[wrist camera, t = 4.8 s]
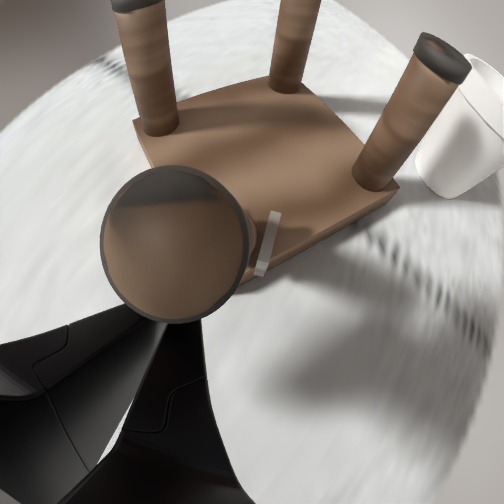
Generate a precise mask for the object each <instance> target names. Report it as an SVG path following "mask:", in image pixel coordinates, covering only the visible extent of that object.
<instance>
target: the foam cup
mask: <svg viewBox="0 0 504 504" xmlns="http://www.w3.org/2000/svg"><path fill="white" fill-rule="evenodd" d="M463 56H464V57H465V58H466V59H467V60H468V61H469V63H470V64H471V66H472V69H471V71H470V73H469V74H468V76H467V77H466V79H465V80H464V82H463V83H462V84H461V85H459V86H458V88H457V89H456V91H455V92H454V94H453V95H452V97H451V98H450V100H449V101H448V102H447V104H446V105H445V107H444V108H443V110H442V111H441V113H440V114H439V115H438V117H437V118H436V120H435V121H434V123H433V124H432V125H431V127H430V128H429V130H428V132H427V134H426V136H425V138H424V140H423V142H422V144H421V146H420V148H419V150H418V153H417V154H416V159H415V165H416V168H417V170H418V173H419V175H420V177H421V178H422V179H423V181H424V182H425V184H426V185H427V186H428V187H429V188H430V189H431V190H432V191H434V192H435V193H436V194H437V195H439V196H441V197H444V198H446V199H452V198H456V197H457V196H460V195H461V194H463V193H464V192H466V191H468V190H469V189H471V188H472V187H474V186H475V185H477V184H478V183H480V182H482V181H483V180H485V179H486V178H488V177H489V176H491V175H492V174H494V173H495V172H497V171H498V170H500V169H501V168H503V167H504V77H503V76H502V75H501V74H500V73H498V72H497V71H496V70H495V69H494V68H492V67H491V66H490V65H488V64H487V63H485V62H484V61H483V60H481V59H479V58H477V57H475V56H473V55H471V54H464V55H463Z"/></svg>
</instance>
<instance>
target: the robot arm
mask: <svg viewBox="0 0 504 504" xmlns="http://www.w3.org/2000/svg"><path fill="white" fill-rule="evenodd" d="M133 399H134V400H133ZM132 400H133V402H132ZM131 402H132V404H131ZM130 404H131V407H130V409H129V412H128V414H127V417H126V419H125V422H124V424H123V427H122V429H121V432H120V434H119V437H118V439H117V441H116V443H115V445H114V446H113V448H112V450H111V451H110V452H109V453H108V454H107V455H106V456H105V457H104V458H103V459H102V460H101V461H100V462H99V463H98V461H99V459H100V457H101V456H102V454H103V452H104V450H105V448H106V446H107V445H108V443H109V441H110V439H111V437H112V436H113V434H114V432H115V430H116V428H117V427H118V425H119V423H120V421H121V420H122V418H123V416H124V414H125V413H126V411H127V409H128V407H129V406H130ZM97 463H98V464H97ZM0 504H256V503H255V502H254V501H253V500H252V499H251V498H250V497H249V496H248V494H247V493H246V492H245V491H244V489H243V488H242V486H241V484H240V483H239V481H238V479H237V477H236V475H235V473H234V470H233V468H232V466H231V463H230V460H229V458H228V455H227V452H226V449H225V447H224V444H223V441H222V438H221V435H220V432H219V430H218V427H217V424H216V420H215V417H214V413H213V409H212V405H211V400H210V394H209V387H208V380H207V372H206V363H205V354H204V344H203V334H202V323H201V319H199V320H196V321H193V322H189V323H182V324H169V323H162V322H158V321H154V320H151V319H149V318H146V317H144V316H142V315H140V314H139V313H137V312H135V311H134V310H133V309H131V308H130V307H129V306H127V305H126V304H125V303H124V304H122V305H119V306H116V307H114V308H111V309H108V310H106V311H103V312H100V313H97V314H95V315H92V316H89V317H87V318H84V319H81V320H78V321H76V322H73V323H70V324H69V325H65V326H62V327H59V328H57V329H54V330H51V331H48V332H45V333H42V334H38V335H35V336H31V337H28V338H24V339H20V340H17V341H13V342H9V343H5V344H1V345H0Z"/></svg>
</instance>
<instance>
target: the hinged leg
mask: <svg viewBox="0 0 504 504" xmlns="http://www.w3.org/2000/svg"><path fill="white" fill-rule="evenodd" d="M257 239H258V231H257V227H256V224H255V222H254V220H253V219H252V218H251V217H250V215H248V214H247V213H246V212H245V211H244V210H243V209H242V207H241V205H240V204H239V202H238V201H237V200H236V199H235V197H234V196H233V195H232V194H231V193H230V192H229V191H228V190H227V189H226V188H225V187H224V186H223V185H222V184H221V183H220V182H218V181H217V180H216V179H215V178H213V177H212V176H210V175H208V174H207V173H205V172H202V171H200V170H198V169H195V168H191V167H188V166H181V165H165V166H159V167H155V168H152V169H149V170H146V171H144V172H142V173H140V174H138V175H137V176H135V177H133V178H132V179H131V180H129V181H128V182H127V183H126V184H125V185H124V186H123V187H122V188H121V189H120V190H119V191H118V192H117V194H116V195H115V196H114V198H113V199H112V201H111V203H110V204H109V206H108V208H107V211H106V213H105V216H104V219H103V222H102V226H101V233H100V255H101V260H102V265H103V268H104V271H105V274H106V276H107V279H108V281H109V283H110V285H111V286H112V288H113V289H114V291H115V292H116V294H117V295H118V296H119V297H120V299H121V300H122V301H123V302H124V303H125V304H126V305H127V306H129V307H130V308H131V309H133V310H134V311H135V312H137V313H139V314H140V315H142V316H144V317H146V318H149V319H151V320H154V321H158V322H162V323H169V324H182V323H189V322H193V321H196V320H199V319H202V318H204V317H206V316H208V315H210V314H211V313H213V312H215V311H216V310H217V309H219V308H220V307H221V306H222V305H223V304H225V302H226V301H227V300H228V299H229V298H230V297H231V296H232V294H233V293H234V291H235V290H236V288H237V287H238V285H239V283H240V281H241V279H242V277H243V274H244V272H245V270H246V268H247V265H248V262H249V258H250V254H251V253H252V251H253V249H254V248H255V246H256V243H257Z"/></svg>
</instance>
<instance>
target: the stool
mask: <svg viewBox="0 0 504 504" xmlns="http://www.w3.org/2000/svg"><path fill="white" fill-rule="evenodd" d="M320 3H321V0H281V2H280V9H279V15H278V21H277V28H276V34H275V41H274V47H273V54H272V60H271V67H270V73H269V76H265V77H261V78H256V79H252V80H248V81H244V82H241V83H237V84H233V85H230V86H226V87H223V88H219V89H216V90H213V91H209V92H206V93H203V94H200V95H197V96H194V97H191V98H188V99H185V100H182V101H180V102H176V95H175V88H174V81H173V73H172V65H171V57H170V48H169V40H168V30H167V20H166V9H165V0H111V4H112V9H113V11H114V12H115V15H116V21H117V26H118V31H119V35H120V40H121V44H122V49H123V53H124V58H125V62H126V66H127V70H128V74H129V78H130V82H131V86H132V90H133V94H134V97H135V101H136V105H137V108H138V112H139V116H140V117H139V118H137V119H134V120H132V121H133V124H134V128H135V131H136V134H137V137H138V140H139V142H140V144H141V146H142V148H143V151H144V153H145V155H146V157H147V159H148V161H149V163H150V165H151V167H152V168H155V167H159V166H165V165H181V166H188V167H191V168H195V169H198V170H200V171H202V172H205V173H207V174H208V175H210V176H212V177H213V178H215V179H216V180H217V181H218V182H220V183H221V184H222V185H223V186H224V187H225V188H226V189H227V190H228V191H229V192H230V193H231V194H232V195H233V196H234V197H235V199H236V200H237V201H238V202H239V204H240V205H241V207H242V209H243V210H244V211H245V212H246V213H247V214H248V215H250V217H251V218H252V219H253V220H254V222H255V224H256V227H257V231H258V239H257V243H256V246H255V248H254V249H253V251H252V253H251V254H250V258H249V262H248V265H247V268H246V270H245V272H244V274H243V277H242V279H241V281H240V283H239V285H238V286H240V285H242V284H244V283H245V282H247V281H249V280H251V279H253V278H255V277H257V276H261V277H264V274H265V272H266V271H268V270H269V269H271V268H273V267H275V266H277V265H278V264H280V263H282V262H284V261H286V260H287V259H289V258H291V257H293V256H295V255H297V254H298V253H300V252H302V251H304V250H305V249H307V248H309V247H311V246H313V245H314V244H316V243H318V242H320V241H321V240H323V239H325V238H327V237H329V236H330V235H332V234H334V233H336V232H337V231H339V230H341V229H343V228H344V227H346V226H348V225H350V224H351V223H353V222H355V221H357V220H358V219H360V218H362V217H363V216H365V215H367V214H369V213H370V212H372V211H374V210H376V209H377V208H379V207H381V206H382V205H384V204H386V203H387V202H388V201H389V200H390V199H391V198H392V196H393V195H394V194H395V193H396V192H397V191H398V189H399V188H400V187H399V185H398V184H397V183H396V182H395V180H394V179H393V176H394V175H395V174H396V173H397V171H398V170H399V169H400V167H401V166H402V165H403V163H404V162H405V161H406V159H407V158H408V157H409V155H410V154H411V153H412V151H413V150H414V149H415V147H416V146H417V145H418V143H419V142H420V141H421V139H422V138H423V137H424V135H425V134H426V132H427V131H428V130H429V128H430V127H431V125H432V124H433V123H434V121H435V120H436V118H437V117H438V115H439V114H440V113H441V111H442V110H443V108H444V107H445V105H446V104H447V102H448V101H449V100H450V98H451V97H452V95H453V94H454V92H455V91H456V89H457V88H458V86H459V85H461V84H462V83H463V82H464V80H465V79H466V77H467V76H468V74H469V73H470V71H471V69H472V66H471V64H470V63H469V61H468V60H467V59H466V58H465V57H464V56H463V55H462V54H461V53H460V52H458V51H457V50H456V49H455V48H454V47H452V46H450V45H449V44H448V43H446V42H445V41H443V40H441V39H440V38H438V37H435V36H434V35H431V34H429V33H425V32H422V33H421V34H420V37H419V39H418V41H417V43H416V45H415V47H414V49H413V51H414V53H413V56H412V57H411V59H410V61H409V63H408V65H407V67H406V69H405V71H404V73H403V75H402V77H401V79H400V81H399V83H398V85H397V87H396V88H395V90H394V92H393V94H392V96H391V98H390V100H389V102H388V104H387V105H386V107H385V109H384V111H383V113H382V115H381V117H380V118H379V120H378V122H377V124H376V126H375V128H374V129H373V131H372V133H371V135H370V137H369V138H368V140H367V142H366V144H365V145H364V144H363V143H362V142H361V140H360V139H359V138H358V137H357V136H356V135H355V134H354V133H353V132H352V131H351V130H350V129H349V128H348V127H347V126H346V125H345V123H344V122H343V121H342V120H341V119H340V118H339V117H338V116H337V115H336V114H335V113H334V112H333V111H332V110H331V109H330V108H329V107H327V106H326V105H325V104H324V103H323V102H322V101H321V100H320V99H319V98H318V97H317V96H316V95H315V94H314V93H313V92H312V91H310V90H309V89H308V88H307V87H306V86H305V85H304V84H303V83H301V80H302V76H303V72H304V68H305V64H306V60H307V56H308V52H309V48H310V44H311V40H312V36H313V32H314V28H315V24H316V20H317V16H318V12H319V8H320Z"/></svg>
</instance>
